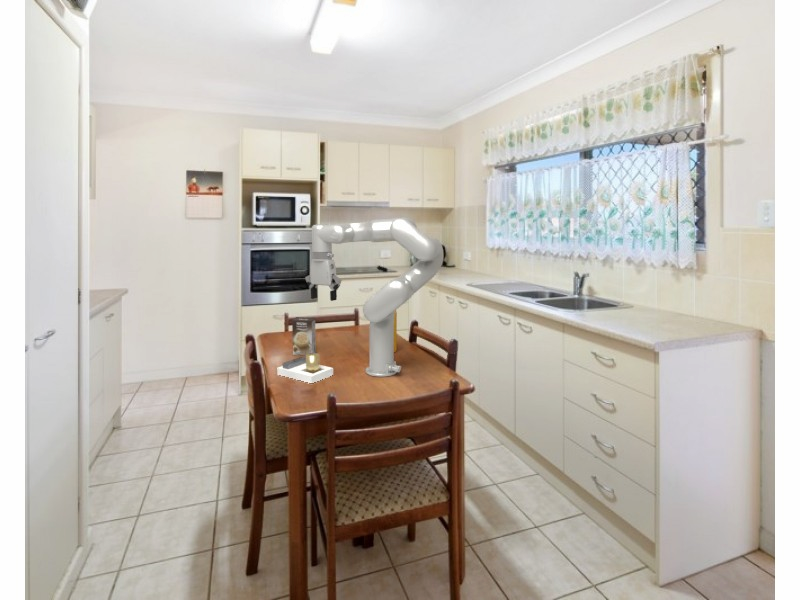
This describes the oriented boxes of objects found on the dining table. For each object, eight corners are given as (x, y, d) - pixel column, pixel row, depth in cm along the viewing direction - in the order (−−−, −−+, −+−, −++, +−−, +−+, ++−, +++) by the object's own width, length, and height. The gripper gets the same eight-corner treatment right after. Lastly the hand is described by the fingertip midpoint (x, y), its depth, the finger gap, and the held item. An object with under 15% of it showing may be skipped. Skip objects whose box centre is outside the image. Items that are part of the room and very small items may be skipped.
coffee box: (292, 355, 212) (291, 320, 210) (296, 351, 219) (295, 316, 216) (312, 356, 212) (311, 320, 209) (316, 352, 218) (315, 317, 215)
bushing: (322, 376, 185) (321, 354, 184) (313, 380, 181) (312, 357, 179) (312, 374, 188) (312, 352, 186) (303, 377, 184) (303, 355, 182)
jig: (333, 375, 187) (333, 363, 186) (311, 384, 177) (311, 371, 176) (299, 367, 196) (299, 355, 195) (277, 375, 186) (276, 362, 186)
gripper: (345, 256, 187) (347, 299, 190) (311, 254, 196) (312, 296, 199) (334, 257, 181) (335, 302, 184) (298, 256, 189) (300, 299, 192)
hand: (323, 299), depth 191 cm, fingers open, 9 cm apart
